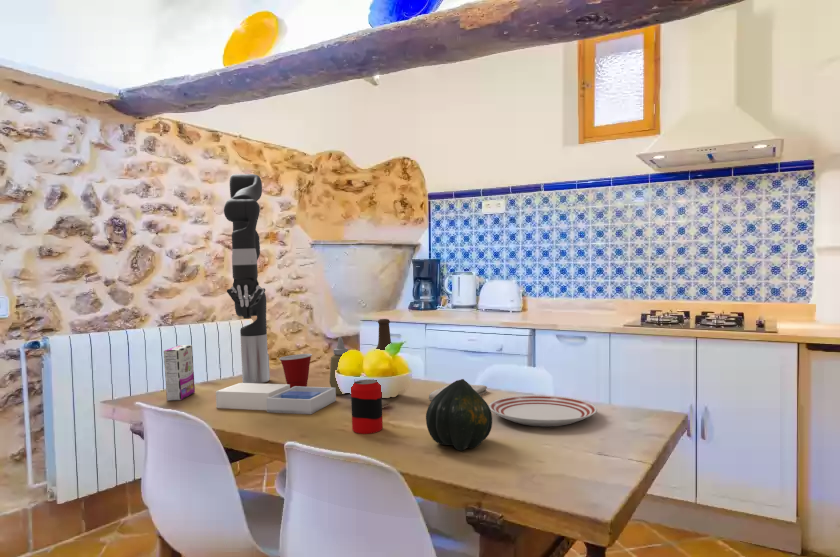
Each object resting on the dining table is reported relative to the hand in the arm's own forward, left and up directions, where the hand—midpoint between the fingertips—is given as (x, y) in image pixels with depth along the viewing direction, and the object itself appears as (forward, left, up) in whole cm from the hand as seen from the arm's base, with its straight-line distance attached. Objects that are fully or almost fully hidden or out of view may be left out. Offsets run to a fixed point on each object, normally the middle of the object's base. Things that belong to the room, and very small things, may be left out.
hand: (247, 318), depth 180 cm
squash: (+32, +75, -26) cm, 85 cm away
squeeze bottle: (-12, +26, -26) cm, 39 cm away
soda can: (+25, +50, -26) cm, 61 cm away
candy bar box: (+1, -26, -26) cm, 37 cm away
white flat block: (+6, +5, -26) cm, 27 cm away
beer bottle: (-10, +42, -26) cm, 50 cm away
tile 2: (+6, +24, -22) cm, 33 cm away
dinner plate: (+6, +91, -26) cm, 95 cm away
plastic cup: (-13, +9, -26) cm, 30 cm away
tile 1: (+6, +18, -25) cm, 31 cm away
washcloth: (-14, +64, -26) cm, 71 cm away
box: (+6, +21, -26) cm, 34 cm away
